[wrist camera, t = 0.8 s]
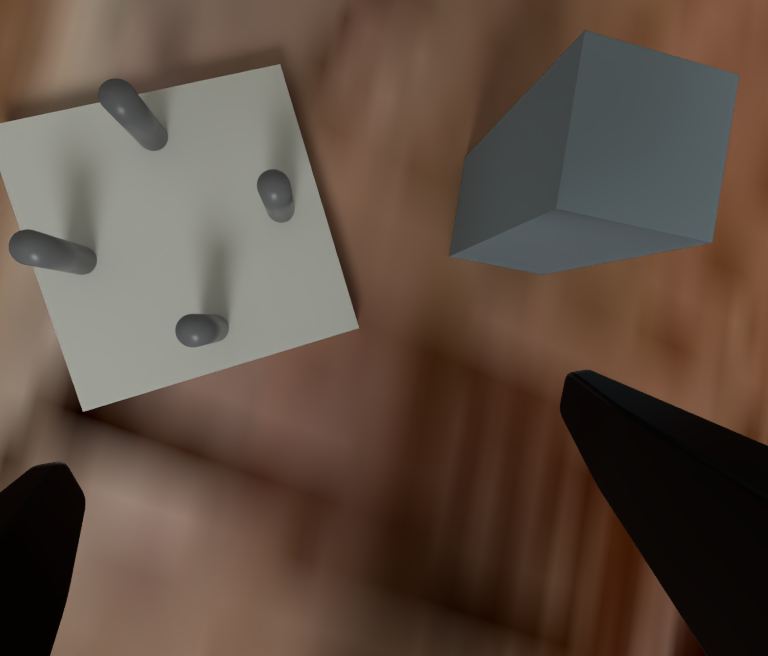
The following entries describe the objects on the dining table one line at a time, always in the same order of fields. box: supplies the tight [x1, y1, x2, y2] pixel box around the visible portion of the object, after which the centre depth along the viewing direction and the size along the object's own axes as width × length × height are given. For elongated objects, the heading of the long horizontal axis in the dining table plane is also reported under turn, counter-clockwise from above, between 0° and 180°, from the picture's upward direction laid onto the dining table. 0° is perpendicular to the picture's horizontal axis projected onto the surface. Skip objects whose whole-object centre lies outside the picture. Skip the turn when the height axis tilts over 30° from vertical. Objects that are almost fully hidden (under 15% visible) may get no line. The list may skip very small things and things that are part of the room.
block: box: [449, 30, 739, 275], centre depth 18 cm, size 5×5×10 cm
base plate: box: [0, 64, 359, 412], centre depth 18 cm, size 12×12×5 cm
